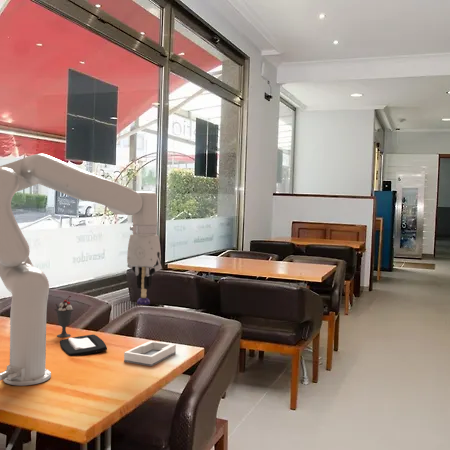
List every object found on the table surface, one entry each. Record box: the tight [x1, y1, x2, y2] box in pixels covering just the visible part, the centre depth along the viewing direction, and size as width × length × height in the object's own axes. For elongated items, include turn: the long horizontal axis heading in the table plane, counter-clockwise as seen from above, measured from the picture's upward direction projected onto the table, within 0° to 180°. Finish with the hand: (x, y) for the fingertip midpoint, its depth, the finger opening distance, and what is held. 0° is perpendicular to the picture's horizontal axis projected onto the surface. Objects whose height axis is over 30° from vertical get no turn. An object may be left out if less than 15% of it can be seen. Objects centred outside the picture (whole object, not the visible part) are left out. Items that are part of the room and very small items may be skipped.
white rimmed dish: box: [123, 340, 177, 367], centre depth 171 cm, size 16×10×3 cm, turn 158°
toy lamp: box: [136, 267, 151, 306], centre depth 166 cm, size 5×5×17 cm
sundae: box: [54, 295, 75, 339], centre depth 194 cm, size 7×7×15 cm
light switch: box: [59, 333, 108, 357], centre depth 180 cm, size 20×3×14 cm
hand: (144, 287), depth 166 cm, fingers closed on toy lamp
